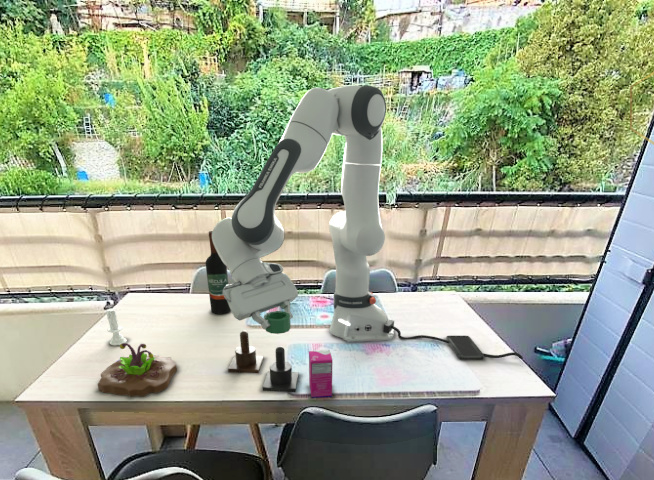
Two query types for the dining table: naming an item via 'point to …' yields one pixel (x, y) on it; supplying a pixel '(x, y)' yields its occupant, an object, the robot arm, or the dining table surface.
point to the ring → (278, 322)
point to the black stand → (280, 375)
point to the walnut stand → (245, 357)
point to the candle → (114, 328)
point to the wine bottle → (217, 281)
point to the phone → (467, 343)
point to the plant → (137, 374)
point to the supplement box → (320, 373)
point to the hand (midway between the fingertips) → (279, 323)
